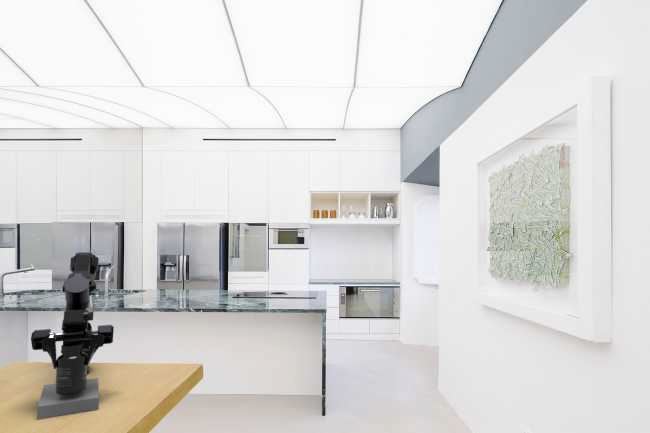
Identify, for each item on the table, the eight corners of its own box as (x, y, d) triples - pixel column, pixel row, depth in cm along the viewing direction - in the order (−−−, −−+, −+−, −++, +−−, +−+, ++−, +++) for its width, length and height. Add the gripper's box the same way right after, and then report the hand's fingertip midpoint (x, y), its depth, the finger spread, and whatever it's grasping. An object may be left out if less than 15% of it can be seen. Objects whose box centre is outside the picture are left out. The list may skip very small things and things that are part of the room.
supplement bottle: (92, 388, 108) (93, 342, 108) (64, 398, 102) (65, 349, 102) (77, 383, 111) (78, 339, 111) (49, 392, 105) (51, 345, 105)
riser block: (43, 396, 112) (44, 385, 113) (97, 388, 119) (98, 377, 119) (36, 419, 99) (37, 406, 99) (98, 409, 105) (99, 397, 105)
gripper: (34, 299, 106) (23, 354, 96) (115, 295, 115) (113, 346, 105) (37, 322, 113) (27, 377, 103) (113, 318, 122) (111, 367, 112)
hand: (71, 366), depth 105 cm, fingers closed on supplement bottle, 7 cm apart
